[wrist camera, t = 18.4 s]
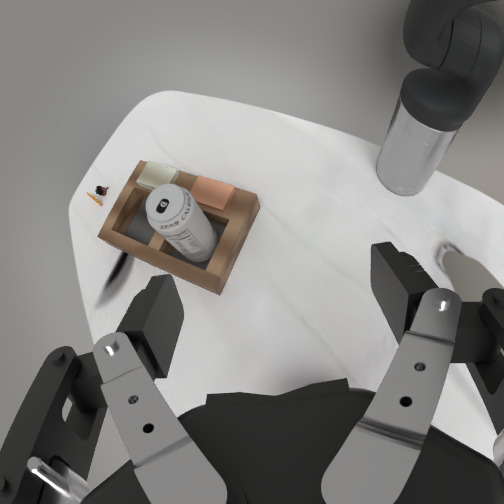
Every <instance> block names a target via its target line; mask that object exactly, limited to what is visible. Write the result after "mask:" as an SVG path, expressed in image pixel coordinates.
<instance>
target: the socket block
mask: <svg viewBox="0 0 504 504" xmlns="http://www.w3.org/2000/svg"><path fill="white" fill-rule="evenodd" d="M163 184H175V185H177V186H179V187H183V188H185V189H187V190H188V191H189V192H190V193H191V195H192V196H193V198H194V199H195V201H196V202H197V204H198V205H199V207H200V208H201V210H202V211H203V213H204V215H205V216H206V218H207V219H208V221H209V222H210V224H211V225H212V227H213V228H214V230H215V231H216V233H217V235H218V238H219V243H218V245H217V247H216V249H215V251H214V254H213V256H212V257H211V258H210V259H209V260H207V261H204V262H199V263H197V262H192V261H190V260H188V259H187V258H186V257H185V256H183V255H182V254H181V253H180V252H179V251H178V250H177V249H176V248H175V247H173V246H172V245H171V244H170V243H169V242H168V241H167V240H166V239H165V238H164V237H163V236H161V235H160V234H159V233H158V232H157V231H156V230H155V229H154V228H153V227H152V226H151V225H150V223H149V221H148V219H147V212H146V201H147V198H148V196H149V195H150V193H151V192H152V191H153V190H154V189H155V188H157V187H158V186H160V185H163ZM259 209H260V206H259V202H258V198H257V194H254V193H251V192H248V191H245V190H242V189H238V188H235V186H232V185H229V184H226V183H223V182H219V181H216V180H213V179H209V178H206V177H202V176H195V175H192V174H188V173H185V172H181V171H178V170H177V169H174V168H171V167H167V166H163V165H160V164H156V163H152V162H149V161H148V162H145V161H141V160H140V161H139V163H138V165H137V166H136V168H135V170H134V171H133V173H132V175H131V176H130V178H129V180H128V181H127V183H126V185H125V186H124V188H123V190H122V192H121V193H120V195H119V197H118V199H117V201H116V202H115V204H114V206H113V208H112V210H111V211H110V213H109V215H108V217H107V219H106V221H105V223H104V225H103V227H102V228H101V230H100V232H99V234H98V236H97V237H99V238H100V239H102V240H103V241H105V242H107V243H108V244H110V245H111V246H113V247H115V248H117V249H120V250H122V251H124V252H126V253H128V254H130V255H132V256H134V257H136V258H138V259H140V260H143V261H145V262H147V263H149V264H151V265H153V266H155V267H158V268H160V269H162V270H164V271H166V272H168V273H171V274H173V275H175V276H177V277H179V278H182V279H184V280H186V281H188V282H191V283H193V284H195V285H197V286H200V287H202V288H204V289H206V290H209V291H211V292H213V293H216V294H218V295H220V294H221V292H222V290H223V288H224V286H225V283H226V281H227V279H228V277H229V275H230V272H231V270H232V268H233V266H234V263H235V261H236V259H237V257H238V255H239V252H240V250H241V248H242V246H243V244H244V241H245V239H246V237H247V235H248V233H249V231H250V228H251V226H252V224H253V222H254V220H255V217H256V215H257V213H258V211H259Z"/></svg>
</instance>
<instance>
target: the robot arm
mask: <svg viewBox="0 0 504 504" xmlns="http://www.w3.org/2000/svg"><path fill="white" fill-rule="evenodd" d="M490 1H497V0H411V1H410V4H409V6H408V9H407V12H406V16H405V20H404V27H403V40H404V45H405V47H406V50H407V52H408V53H409V55H410V56H411V57H412V58H413V59H414V60H415V61H417V62H419V63H421V64H423V65H425V66H428V67H430V68H422V69H416V70H414V71H411V72H410V73H409V74H407V76H406V77H405V79H404V81H403V84H402V87H401V91H400V94H399V97H398V101H397V104H396V108H395V111H394V114H393V117H392V120H391V123H390V126H389V129H388V132H387V135H386V138H385V141H384V144H383V147H382V149H381V152H380V155H379V158H378V161H377V164H376V170H377V175H378V177H379V179H380V181H381V182H382V184H383V185H384V186H385V187H386V188H388V189H389V190H390V191H392V192H394V193H396V194H399V195H402V196H411V195H415V194H417V193H418V192H420V191H421V190H422V188H423V187H424V186H425V184H426V183H427V181H428V180H429V178H430V177H431V175H432V174H433V172H434V170H435V169H436V167H437V166H438V164H439V163H440V161H441V159H442V158H443V156H444V154H445V153H446V151H447V150H448V148H449V146H450V145H451V143H452V141H453V139H454V138H455V136H456V134H457V132H458V131H459V129H460V127H461V126H462V124H463V122H464V121H466V120H467V119H468V118H469V117H470V116H471V115H472V113H473V112H474V110H475V108H476V107H477V105H478V104H479V102H480V101H481V99H482V97H483V96H484V94H485V93H486V91H487V90H488V88H489V87H490V85H491V83H492V82H493V80H494V78H495V77H496V75H497V72H498V70H499V68H500V66H501V63H502V61H503V57H504V30H503V27H502V25H501V24H500V22H499V21H498V20H497V19H496V18H495V17H493V16H492V15H490V14H488V13H486V12H484V11H482V10H480V9H478V8H476V7H473V6H474V5H476V4H480V3H485V2H490ZM371 287H372V291H373V294H374V296H375V298H376V300H377V302H378V304H379V305H380V307H381V309H382V311H383V313H384V315H385V317H386V319H387V322H388V324H389V326H390V328H391V330H392V332H393V334H394V336H395V338H396V340H397V342H398V344H399V347H398V349H397V352H396V354H395V356H394V358H393V360H392V362H391V365H390V367H389V369H388V371H387V373H386V375H385V377H384V379H383V381H382V383H381V385H380V387H379V389H378V391H377V392H373V391H370V390H365V389H359V388H349V385H348V381H347V378H344V379H338V380H333V381H327V382H321V383H315V384H310V385H308V386H305V387H302V388H299V389H296V390H293V391H290V392H287V393H284V394H281V395H278V396H270V395H260V394H252V393H243V392H236V393H220V394H207V399H206V404H205V405H201V406H199V407H196V408H193V409H191V410H189V411H187V412H185V413H184V414H182V415H180V416H179V417H178V418H176V416H175V415H174V413H173V412H172V410H171V409H170V407H169V406H168V404H167V402H166V401H165V399H164V398H163V396H162V395H161V393H160V391H159V390H158V388H157V387H156V385H155V383H154V381H155V378H167V375H168V371H169V368H170V364H171V361H172V357H173V354H174V350H175V347H176V343H177V340H178V337H179V333H180V330H181V327H182V323H183V320H184V310H183V305H182V302H181V299H180V297H179V294H178V291H177V288H176V285H175V282H174V280H173V277H172V276H171V275H170V274H166V275H159V276H153V277H152V278H151V279H150V281H149V283H148V285H147V287H146V289H143V290H141V291H140V292H139V293H138V294H137V295H136V296H135V297H134V299H133V300H132V302H131V304H130V307H129V308H128V310H127V311H126V312H127V313H125V315H124V317H123V319H122V321H121V323H120V325H119V326H118V328H117V330H116V332H114V333H110V334H108V335H106V336H104V337H102V338H101V339H100V340H98V342H97V343H96V344H95V346H94V348H93V352H90V353H87V354H83V355H80V356H77V354H76V353H75V351H74V350H73V348H72V347H69V346H64V347H60V348H57V349H56V350H54V351H53V352H51V353H50V354H49V355H48V357H47V358H46V360H45V361H44V363H43V365H42V367H41V368H40V370H39V372H38V374H37V376H36V378H35V380H34V381H33V383H32V385H31V387H30V389H29V391H28V393H27V395H26V397H25V399H24V401H23V403H22V405H21V407H20V409H19V411H18V413H17V415H16V417H15V419H14V421H13V424H12V425H11V428H10V430H9V432H8V434H7V437H6V439H5V441H4V443H3V446H2V448H1V451H0V504H504V356H503V354H502V353H501V351H500V350H501V348H502V349H503V351H504V290H503V289H500V288H491V289H488V290H486V291H485V292H484V293H483V296H482V300H481V302H462V301H461V298H460V297H459V295H458V294H456V293H455V292H453V291H452V290H449V289H445V288H439V287H438V286H437V285H436V284H435V282H434V281H433V280H432V279H431V277H430V276H429V275H428V274H427V272H426V271H424V269H423V268H422V266H421V265H419V263H418V262H417V260H416V259H415V258H414V257H413V256H411V255H409V254H407V253H406V252H399V251H398V250H397V249H396V248H395V246H394V245H393V244H392V243H391V242H383V243H377V244H372V246H371ZM450 363H465V364H466V366H467V368H468V370H469V372H470V374H471V376H472V378H473V380H474V382H475V384H476V386H477V389H478V391H479V393H480V395H481V397H482V399H483V402H484V404H485V406H486V409H487V411H488V413H489V416H490V418H491V420H492V423H493V425H494V428H495V430H496V433H497V435H498V436H497V438H496V440H495V442H494V445H493V454H494V460H493V461H492V460H490V459H489V458H487V457H486V456H484V455H482V454H481V453H479V452H477V451H475V450H473V449H472V448H470V447H468V446H466V445H465V444H463V443H461V442H459V441H458V440H456V439H454V438H452V437H451V436H449V435H447V434H446V433H444V432H442V431H441V430H439V429H437V428H436V427H434V426H432V425H431V421H432V419H433V416H434V413H435V410H436V407H437V404H438V401H439V398H440V395H441V392H442V389H443V386H444V382H445V379H446V376H447V372H448V368H449V365H450ZM67 397H68V398H69V399H70V401H71V402H72V403H73V404H72V407H71V409H70V412H69V414H68V417H67V419H66V422H65V421H64V420H63V418H62V408H63V406H64V403H65V401H66V399H67ZM107 407H108V408H109V410H110V413H111V415H112V418H113V420H114V422H115V424H116V427H117V429H118V431H119V434H120V436H121V438H122V441H123V443H124V445H125V447H126V449H127V451H128V453H129V456H130V458H131V459H130V460H129V461H127V463H125V464H124V465H123V466H122V467H120V468H119V469H118V470H117V471H116V472H114V473H113V474H112V475H111V476H110V477H108V478H107V479H106V480H105V481H104V482H102V483H101V484H100V485H99V486H97V487H96V488H95V489H94V490H92V491H91V492H90V491H89V486H88V484H87V482H86V481H87V477H88V473H89V470H90V466H91V462H92V458H93V455H94V451H95V447H96V444H97V441H98V437H99V434H100V430H101V427H102V424H103V421H104V417H105V414H106V411H107Z"/></svg>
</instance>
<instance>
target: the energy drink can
mask: <svg viewBox="0 0 504 504" xmlns="http://www.w3.org/2000/svg"><path fill="white" fill-rule="evenodd" d="M146 212H147V219H148V221H149V223H150V225H151V226H152V227H153V228H154V229H155V230H156V231H157V232H158V233H159V234H160V235H161V236H163V237H164V238H165V239H166V240H167V241H168V242H169V243H170V244H171V245H172V246H173V247H175V248H176V249H177V250H178V251H179V252H180V253H181V254H182V255H183V256H185V257H186V258H187V259H188V260H190V261H192V262H197V263H199V262H204V261H207V260H209V259H210V258H211V257H212V256H213V254H214V251H215V249H216V247H217V245H218V243H219V238H218V235H217V233H216V231H215V230H214V228H213V227H212V225H211V224H210V222H209V221H208V219H207V218H206V216H205V215H204V213H203V211H202V210H201V208H200V207H199V205H198V204H197V202H196V201H195V199H194V198H193V196H192V195H191V193H190V192H189V191H188V190H187V189H185V188H183V187H179V186H177V185H175V184H163V185H160V186H158V187H157V188H155V189H154V190H153V191H152V192H151V193H150V195H149V196H148V198H147V201H146Z"/></svg>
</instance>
